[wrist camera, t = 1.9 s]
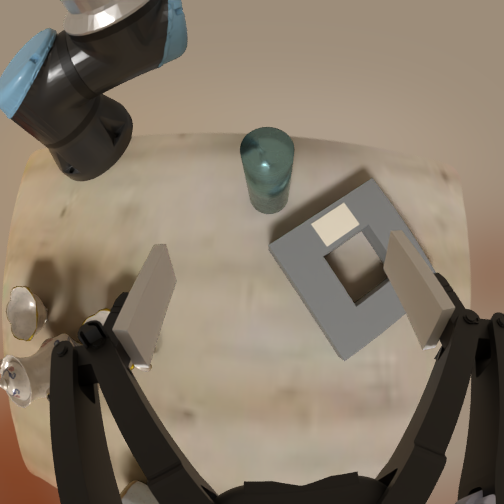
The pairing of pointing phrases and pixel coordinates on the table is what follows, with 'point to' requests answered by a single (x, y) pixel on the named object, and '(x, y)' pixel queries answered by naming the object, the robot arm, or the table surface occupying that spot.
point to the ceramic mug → (137, 494)
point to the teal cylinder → (267, 168)
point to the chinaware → (38, 365)
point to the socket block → (324, 279)
